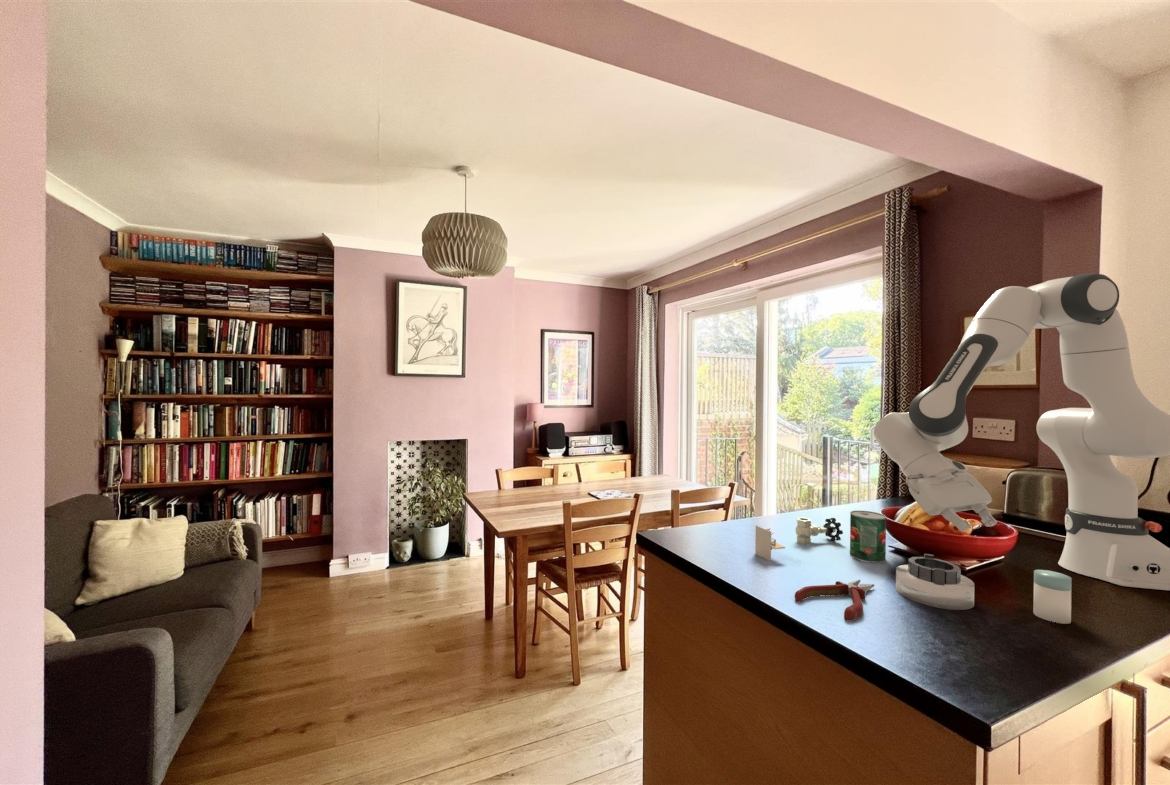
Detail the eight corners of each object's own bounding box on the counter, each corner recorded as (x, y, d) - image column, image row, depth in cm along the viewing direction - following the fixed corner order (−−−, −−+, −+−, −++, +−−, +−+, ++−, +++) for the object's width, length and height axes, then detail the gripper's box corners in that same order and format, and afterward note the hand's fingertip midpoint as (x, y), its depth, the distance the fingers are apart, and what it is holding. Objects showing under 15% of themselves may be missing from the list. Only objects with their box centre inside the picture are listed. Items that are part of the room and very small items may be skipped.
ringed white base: (960, 585, 102) (960, 553, 102) (983, 615, 88) (983, 578, 88) (889, 574, 108) (890, 544, 108) (901, 601, 94) (901, 566, 94)
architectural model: (765, 552, 122) (765, 524, 122) (784, 561, 115) (785, 531, 115) (754, 553, 121) (755, 525, 121) (773, 563, 114) (774, 533, 114)
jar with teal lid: (1063, 614, 89) (1063, 572, 89) (1076, 626, 84) (1077, 582, 84) (1028, 608, 91) (1029, 567, 91) (1039, 619, 87) (1040, 576, 87)
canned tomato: (893, 563, 115) (893, 518, 115) (860, 562, 115) (861, 518, 115) (873, 552, 123) (874, 510, 123) (843, 551, 123) (844, 510, 123)
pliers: (896, 597, 96) (896, 585, 96) (851, 625, 84) (851, 611, 84) (839, 579, 106) (839, 568, 106) (791, 602, 94) (791, 589, 94)
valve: (804, 547, 127) (842, 544, 129) (805, 522, 127) (843, 520, 129) (789, 539, 133) (826, 537, 136) (789, 516, 133) (826, 514, 136)
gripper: (912, 467, 101) (963, 524, 92) (967, 463, 109) (1019, 515, 100) (891, 484, 105) (938, 540, 96) (946, 478, 113) (994, 530, 104)
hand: (980, 527), depth 98 cm, fingers open, 8 cm apart
